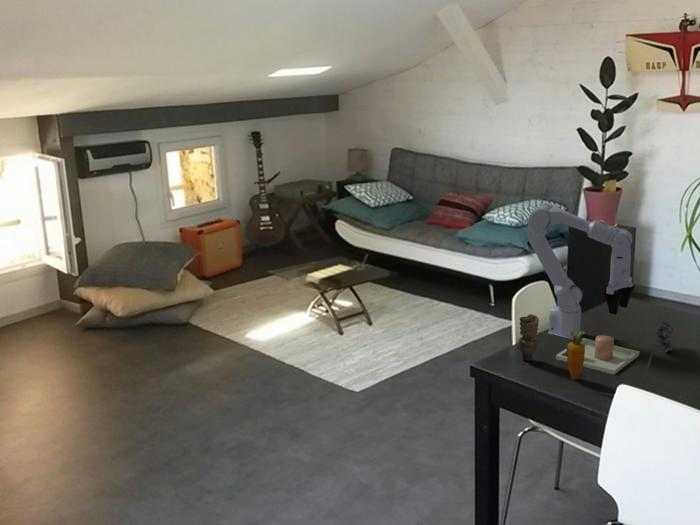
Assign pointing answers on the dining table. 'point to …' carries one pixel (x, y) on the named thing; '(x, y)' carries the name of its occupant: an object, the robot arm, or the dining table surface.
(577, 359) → the carrot
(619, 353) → the tray
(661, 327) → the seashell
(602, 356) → the tan cylinder
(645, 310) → the dining table surface
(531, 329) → the brown carved statue
